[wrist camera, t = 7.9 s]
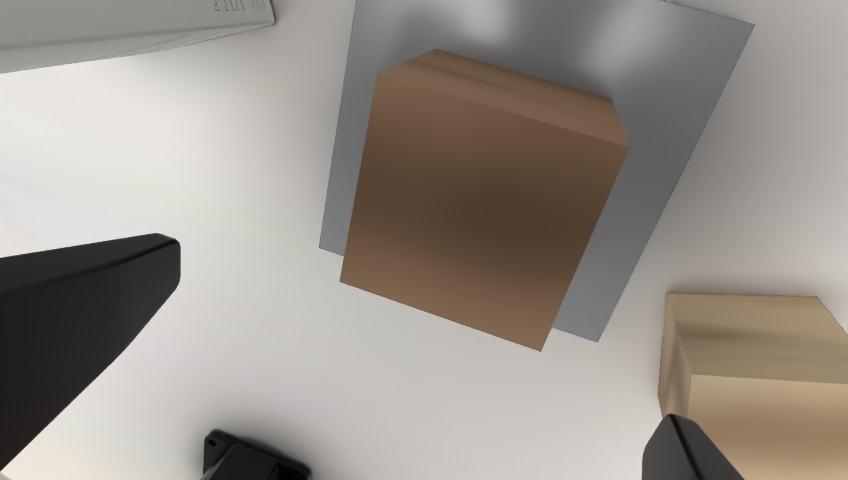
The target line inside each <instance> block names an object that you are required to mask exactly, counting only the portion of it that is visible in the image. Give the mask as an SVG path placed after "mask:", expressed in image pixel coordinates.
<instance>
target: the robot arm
mask: <svg viewBox="0 0 848 480" xmlns="http://www.w3.org/2000/svg"><path fill="white" fill-rule="evenodd" d="M180 276H181V247H180V243H179V242H178V241H177V240H176V239H174V238H171V237H168V236H166V235H163V234H160V233H153V234H147V235H140V236H134V237H128V238H122V239H115V240H109V241H103V242H96V243H90V244H84V245H78V246H71V247H65V248H59V249H53V250H46V251H40V252H34V253H28V254H21V255H15V256H9V257H3V258H0V471H1V470H2V469H3V468H4V467H5V466H6V465H7V464H9V463H10V462H11V461H12V460H13V459H14V458H15V457H16V456H17V455H18V454H19V453H20V452H21V451H22V450H23V449H24V448H25V447H26V446H27V445H28V444H29V443H30V442H31V441H32V440H33V439H34V438H35V437H36V436H37V435H38V434H39V433H40V432H41V431H42V430H43V429H44V428H45V427H46V426H48V425H49V424H50V423H51V422H52V421H53V420H54V419H55V418H56V417H57V416H58V415H59V414H60V413H61V412H62V411H63V410H64V409H65V408H66V407H67V406H68V405H69V404H70V403H71V402H72V401H73V400H74V399H75V398H76V397H77V396H78V395H79V394H80V393H81V392H82V391H83V390H84V389H85V388H87V387H88V386H89V385H90V384H91V383H92V382H93V381H94V380H95V379H96V378H97V377H98V376H99V375H100V374H101V373H102V372H103V371H104V370H105V369H106V368H107V367H108V366H109V365H110V364H111V363H112V362H113V361H114V360H115V359H116V358H117V357H118V356H119V355H120V354H121V353H122V352H123V351H124V350H125V349H126V348H127V347H128V345H129V344H130V343H131V342H132V341H133V340H134V339H135V337H136V336H137V335H138V334H139V333H140V331H141V330H142V329H143V328H144V327H145V325H146V324H147V323H148V322H149V321H150V320H151V318H152V317H153V316H154V315H155V314H156V312H157V311H158V310H159V309H160V308H161V306H162V305H163V304H164V303H165V302H166V300H167V299H168V298H169V297H170V296H171V294H172V293H173V292H174V291H175V289H176V288H177V286H178V284H179V281H180ZM310 476H311V474H310V471H309V470H308V469H307V468H306V467H304V466H301V465H299V464H296V463H294V462H291V461H289V460H286V459H284V458H281V457H279V456H276V455H274V454H271V453H269V452H266V451H264V450H261V449H258V448H256V447H253V446H251V445H248V444H246V443H243V442H241V441H238V440H236V439H233V438H231V437H228V436H226V435H223V434H221V433H218V432H215V431H211V432H210V433H209V434H208V435H207V436H206V438H205V441H204V467H203V477H202V478H201V479H200V480H310ZM642 480H745V479H744V478H743V477H742V476H741V474H740V473H739V472H738V471H737V470H736V469H735V467H734V466H733V465H732V464H731V463H730V462H729V460H728V459H727V458H726V457H725V456H724V454H723V453H722V452H721V451H720V450H719V449H718V447H717V446H716V445H715V444H714V443H713V442H712V440H711V439H710V438H709V437H708V436H707V434H706V433H705V432H704V431H703V430H702V429H701V427H700V426H699V425H698V424H697V423H696V422H695V421H693V420H691V419H688V418H685V417H682V416H679V415H677V414H674V413H670V414H667V415H666V416H665V417H664V418H663V419H662V421H661V422H660V424H659V426H658V427H657V429H656V430H655V432H654V433H653V435H652V437H651V438H650V440H649V441H648V443H647V445H646V447H645V449H644V453H643V459H642Z"/></svg>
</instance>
